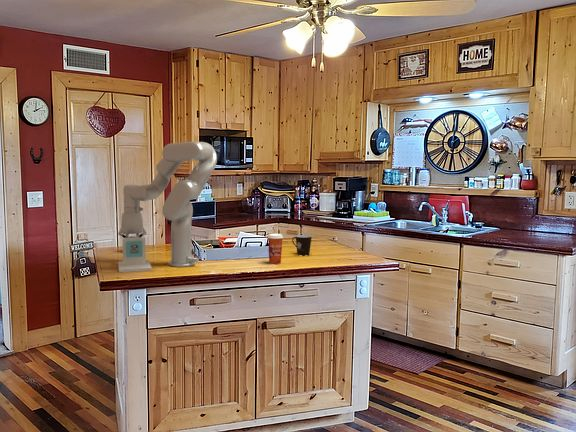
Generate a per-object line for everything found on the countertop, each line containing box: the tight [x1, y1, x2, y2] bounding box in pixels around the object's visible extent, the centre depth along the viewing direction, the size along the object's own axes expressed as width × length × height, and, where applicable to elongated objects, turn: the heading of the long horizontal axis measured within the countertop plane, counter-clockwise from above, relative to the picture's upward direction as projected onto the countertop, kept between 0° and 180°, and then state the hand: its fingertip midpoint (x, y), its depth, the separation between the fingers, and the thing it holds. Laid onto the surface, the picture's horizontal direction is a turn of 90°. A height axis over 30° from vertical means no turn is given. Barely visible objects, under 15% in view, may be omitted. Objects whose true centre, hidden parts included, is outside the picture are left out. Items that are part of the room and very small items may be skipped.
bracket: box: [117, 236, 153, 273], centre depth 243 cm, size 18×14×14 cm
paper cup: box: [267, 233, 284, 265], centre depth 258 cm, size 8×8×14 cm
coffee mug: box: [291, 234, 313, 257], centre depth 281 cm, size 12×9×10 cm
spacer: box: [126, 241, 142, 257], centre depth 242 cm, size 2×7×7 cm, turn 109°
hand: (132, 247), depth 257 cm, fingers closed on shaft, 3 cm apart
